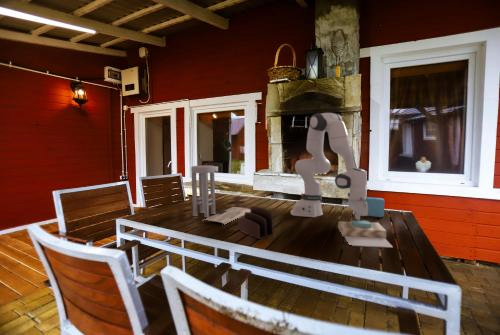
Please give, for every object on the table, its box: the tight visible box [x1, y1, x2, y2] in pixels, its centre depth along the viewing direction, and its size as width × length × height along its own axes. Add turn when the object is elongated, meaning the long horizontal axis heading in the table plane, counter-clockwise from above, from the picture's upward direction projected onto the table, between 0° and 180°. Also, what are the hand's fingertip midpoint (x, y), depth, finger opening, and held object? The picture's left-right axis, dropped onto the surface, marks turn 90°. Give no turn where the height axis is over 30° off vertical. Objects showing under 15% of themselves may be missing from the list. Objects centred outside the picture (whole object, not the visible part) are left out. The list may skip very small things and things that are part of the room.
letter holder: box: [238, 205, 274, 240], centre depth 151 cm, size 10×20×14 cm, turn 36°
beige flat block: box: [337, 220, 387, 239], centre depth 149 cm, size 22×14×4 cm, turn 80°
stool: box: [190, 164, 216, 218], centre depth 187 cm, size 16×16×35 cm
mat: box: [344, 236, 394, 249], centre depth 135 cm, size 20×12×1 cm, turn 80°
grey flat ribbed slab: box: [201, 206, 251, 226], centre depth 185 cm, size 37×19×3 cm, turn 152°
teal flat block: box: [350, 219, 371, 228], centre depth 149 cm, size 9×6×2 cm, turn 80°
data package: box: [365, 196, 385, 218], centre depth 182 cm, size 12×4×12 cm, turn 63°
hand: (357, 219), depth 157 cm, fingers closed
